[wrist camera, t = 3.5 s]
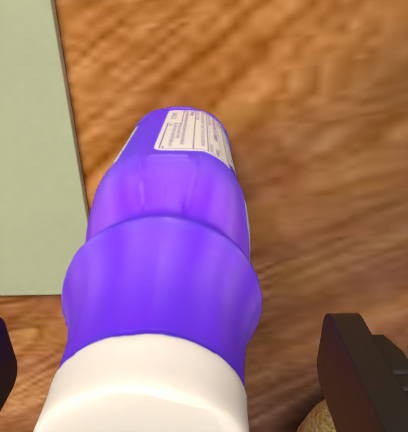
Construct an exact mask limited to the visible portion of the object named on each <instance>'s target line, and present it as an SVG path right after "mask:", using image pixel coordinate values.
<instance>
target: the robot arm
mask: <svg viewBox="0 0 408 432" xmlns="http://www.w3.org/2000/svg"><path fill="white" fill-rule="evenodd" d="M317 371H318V378H319V382H320V386H321V389H322V392H323V395H324V397H325V400H326V403H327V406H328V409H329V412H330V415H331V418H332V421H333V424H334V427H335V430H336V432H408V359H407V358H406V356H405V355H404V353H403V351H402V350H400V349H399V348H398V347H397V346H396V345H394V344H393V343H392V342H391V341H390V340H389V339H387V338H386V337H385V336H384V335H372V334H371V332H370V330H369V329H368V327H367V325H366V323H365V322H364V320H363V318H362V317H361V315H360V314H358V313H328V314H326V315H325V317H324V321H323V327H322V333H321V339H320V345H319V351H318V357H317ZM16 376H17V360H16V357H15V354H14V351H13V347H12V344H11V341H10V338H9V335H8V331H7V328H6V325H5V322H4V320H3V319H2V318H1V317H0V411H1V409H2V407H3V405H4V403H5V402H6V400H7V398H8V396H9V394H10V392H11V390H12V388H13V386H14V384H15V381H16Z"/></svg>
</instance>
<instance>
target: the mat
mask: <svg viewBox="0 0 408 432" xmlns="http://www.w3.org/2000/svg"><path fill="white" fill-rule="evenodd" d="M88 220H89V211H88V205H87V198H86V192H85V186H84V180H83V174H82V168H81V162H80V156H79V149H78V143H77V137H76V131H75V125H74V119H73V113H72V106H71V100H70V94H69V88H68V82H67V76H66V70H65V64H64V57H63V51H62V45H61V39H60V33H59V27H58V21H57V14H56V8H55V2H54V0H0V296H6V295H57V294H62V288H63V282H64V279H65V276H66V272H67V269H68V267H69V265H70V263H71V261H72V259H73V257H74V255H75V254H76V252H77V251H78V250H79V248H80V247H81V246H83V245H84V244H85V240H86V232H87V225H88Z"/></svg>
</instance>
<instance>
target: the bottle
mask: <svg viewBox="0 0 408 432" xmlns="http://www.w3.org/2000/svg"><path fill="white" fill-rule="evenodd" d="M61 305H62V311H63V315H64V318H65V322H66V326H67V329H68V341H67V345H66V348H65V351H64V355H63V358H62V361H61V364H60V367H59V369H58V371H57V372H56V374H55V376H54V378H53V381H52V384H51V387H50V389H49V394H48V396H47V399H46V402H45V404H44V407H43V410H42V412H41V414H40V417H39V419H38V421H37V424H36V426H35V429H34V431H33V432H249V425H248V416H247V395H246V392H245V381H244V364H245V354H246V353H245V351H246V346H247V344H248V342H249V341H250V339H251V338H252V336H253V334H254V332H255V329H256V327H257V325H258V322H259V320H260V317H261V313H262V293H261V289H260V285H259V281H258V277H257V274H256V273H255V271H254V269H253V267H252V265H251V263H250V230H249V222H248V212H247V207H246V202H245V199H244V195H243V192H242V189H241V187H240V185H239V183H238V180H237V176H236V172H235V168H234V164H233V160H232V156H231V147H230V142H229V139H228V135H227V132H226V130H225V128H224V127H223V125H222V124H221V122H220V121H219V120H218V119H217V118H216V117H215V116H214V115H212V114H210V113H208V112H205V111H202V110H198V109H194V108H192V107H168V108H166V109H158V110H155V111H152V112H150V113H149V114H147V115H146V116H144V117H143V118H142V119H141V120H140V121H139V122H138V124H137V125H136V127H135V129H134V131H133V132H132V134H131V136H130V138H129V139H128V141H127V142H126V144H125V145H124V147H123V148H122V150H121V152H120V153H119V155H118V156H117V158H116V159H115V161H114V162H113V164H112V165H111V167H110V168H109V170H108V171H107V172H106V173H105V175H104V176H103V178H102V180H101V182H100V184H99V186H98V188H97V190H96V193H95V196H94V200H93V204H92V207H91V211H90V215H89V220H88V225H87V232H86V240H85V244H84V245H83V246H81V247H80V248H79V250H78V251H77V252H76V254H75V255H74V257H73V259H72V261H71V263H70V265H69V267H68V269H67V272H66V276H65V279H64V282H63V288H62V298H61Z"/></svg>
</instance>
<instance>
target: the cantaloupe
mask: <svg viewBox="0 0 408 432" xmlns="http://www.w3.org/2000/svg"><path fill="white" fill-rule="evenodd" d="M297 432H336V430H335V427H334V424H333V421H332V418H331V415H330V412H329V409H328V406H327V403H326V400H325V399H324V400H323V401H321V402H320V403H318V404H317V405H316V406H315V407H314V408H313V409H312V410H311V411H310V412H309V413H308V415H307V416H306V418H305V419H304V421H303V422H302V423H301V425H300V426H299V427H298V430H297Z"/></svg>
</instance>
